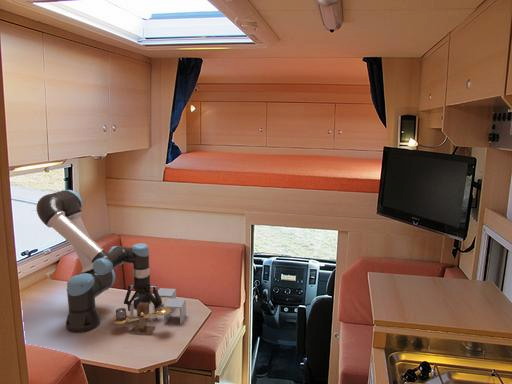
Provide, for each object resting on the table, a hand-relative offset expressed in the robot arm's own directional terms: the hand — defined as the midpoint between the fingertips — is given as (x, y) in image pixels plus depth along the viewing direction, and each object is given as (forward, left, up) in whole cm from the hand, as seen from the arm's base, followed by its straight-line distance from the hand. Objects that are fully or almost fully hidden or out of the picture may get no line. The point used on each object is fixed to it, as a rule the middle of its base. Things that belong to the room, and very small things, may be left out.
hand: (143, 317), depth 199 cm
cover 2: (+16, 0, 0) cm, 16 cm away
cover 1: (+8, +11, 0) cm, 14 cm away
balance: (+4, -12, 0) cm, 13 cm away
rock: (-6, +15, -1) cm, 16 cm away
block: (0, 0, 0) cm, 0 cm away
